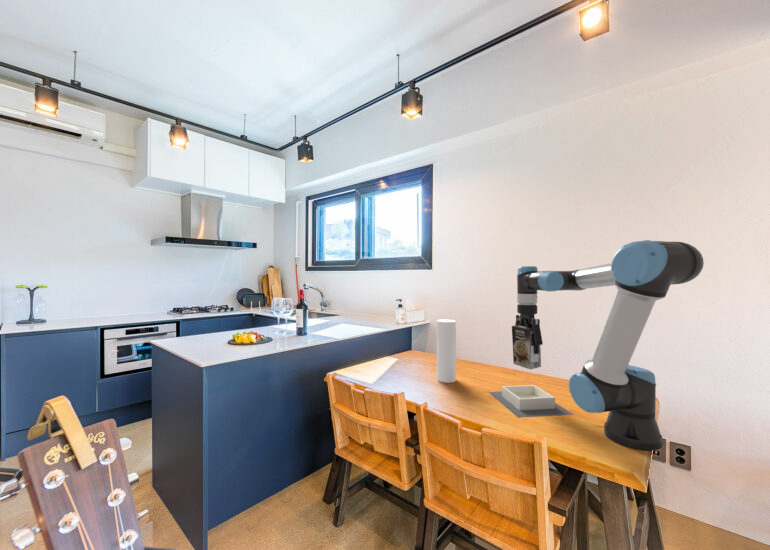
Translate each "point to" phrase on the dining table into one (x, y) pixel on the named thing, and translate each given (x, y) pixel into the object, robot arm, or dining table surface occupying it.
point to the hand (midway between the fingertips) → (527, 358)
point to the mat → (530, 413)
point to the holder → (528, 397)
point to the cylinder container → (446, 350)
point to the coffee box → (523, 347)
